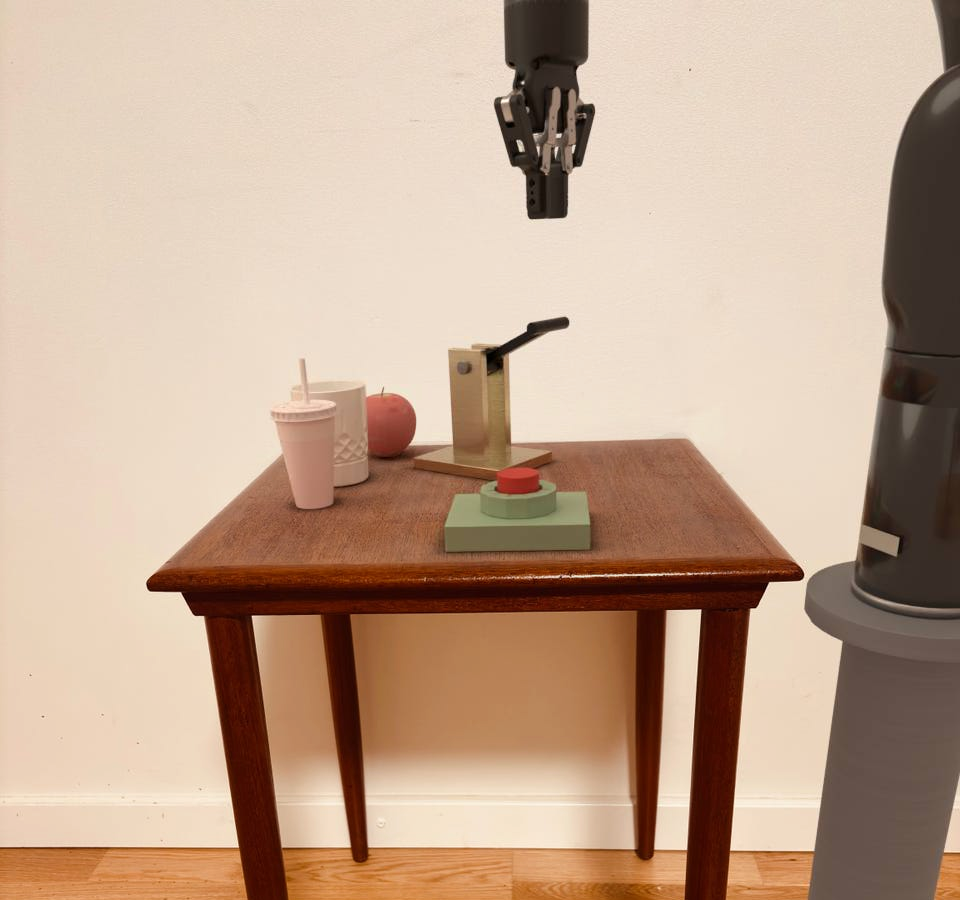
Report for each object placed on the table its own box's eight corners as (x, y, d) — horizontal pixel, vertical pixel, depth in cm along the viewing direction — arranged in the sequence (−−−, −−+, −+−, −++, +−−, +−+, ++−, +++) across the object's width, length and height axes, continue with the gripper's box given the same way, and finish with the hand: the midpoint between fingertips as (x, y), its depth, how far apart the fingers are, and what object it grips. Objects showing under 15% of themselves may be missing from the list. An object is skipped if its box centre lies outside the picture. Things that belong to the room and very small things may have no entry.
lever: (573, 331, 94) (565, 308, 94) (540, 338, 90) (531, 314, 90) (490, 375, 103) (483, 355, 102) (456, 383, 98) (448, 362, 98)
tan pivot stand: (551, 461, 104) (551, 343, 99) (498, 481, 97) (494, 355, 92) (469, 450, 111) (464, 339, 106) (413, 468, 104) (405, 350, 99)
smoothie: (313, 516, 88) (295, 364, 82) (268, 507, 91) (248, 361, 86) (360, 500, 92) (346, 355, 87) (316, 491, 96) (299, 352, 90)
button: (539, 486, 81) (539, 466, 80) (539, 497, 78) (538, 477, 77) (498, 487, 81) (497, 467, 80) (496, 498, 78) (495, 478, 77)
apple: (377, 447, 114) (371, 381, 111) (429, 451, 111) (424, 383, 108) (343, 460, 109) (336, 391, 105) (396, 465, 105) (391, 393, 102)
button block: (585, 514, 85) (586, 471, 83) (590, 549, 76) (590, 502, 74) (456, 516, 86) (454, 474, 84) (445, 552, 77) (442, 505, 75)
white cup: (286, 486, 99) (274, 391, 95) (326, 468, 105) (316, 378, 101) (350, 491, 96) (340, 393, 92) (386, 473, 102) (379, 380, 98)
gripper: (536, -17, 74) (538, 219, 81) (623, 7, 84) (618, 215, 91) (463, -1, 78) (472, 222, 86) (554, 20, 88) (555, 218, 95)
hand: (547, 217), depth 88 cm, fingers closed
